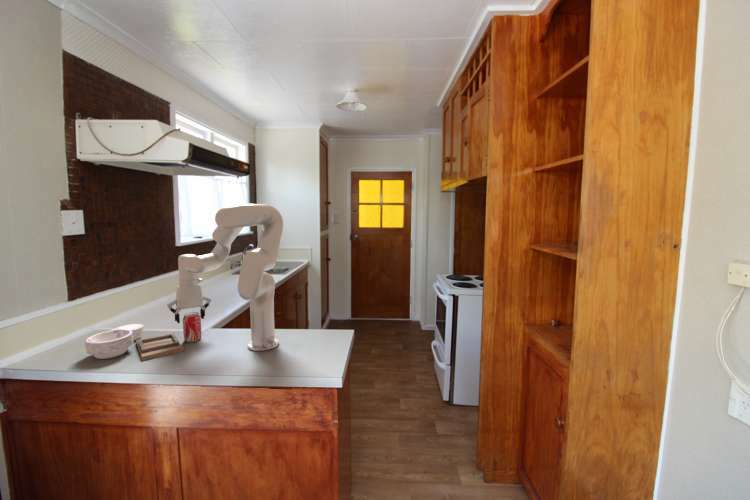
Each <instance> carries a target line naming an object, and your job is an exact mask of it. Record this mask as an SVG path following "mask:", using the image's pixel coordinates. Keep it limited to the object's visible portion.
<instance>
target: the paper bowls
mask: <svg viewBox="0 0 750 500" xmlns="http://www.w3.org/2000/svg"><path fill="white" fill-rule="evenodd" d="M133 344H134V341H133V332H132V331H131V330H126V329H120V330H114V329H112V330H107V331H103V332H99V333H96V334H93V335H91V336H88V337H87V338H86V339H85V341H84V345H85V351H86V354H88V355H92V356H93V357H94V358H96V359H100V360H101V359H102V360H106V359H107V360H108V359H112V358H116V357H119V356H122V355H124V354H125V353H126V352H127V351H128V349H129V348H130V347H131V346H132V345H133Z"/></svg>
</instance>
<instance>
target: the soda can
mask: <svg viewBox="0 0 750 500" xmlns="http://www.w3.org/2000/svg"><path fill="white" fill-rule="evenodd" d="M183 315H184V316H183V318H182V328H183V331H182V332H183V339H184V341H186V343H195V342H198V341H199V340H200V339H201V338H202V334H203V333H202V322H201V320H202V318H201V316H200V313H199V312H197V311H195V312H194V311H192V312H186V313H184V314H183Z"/></svg>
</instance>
